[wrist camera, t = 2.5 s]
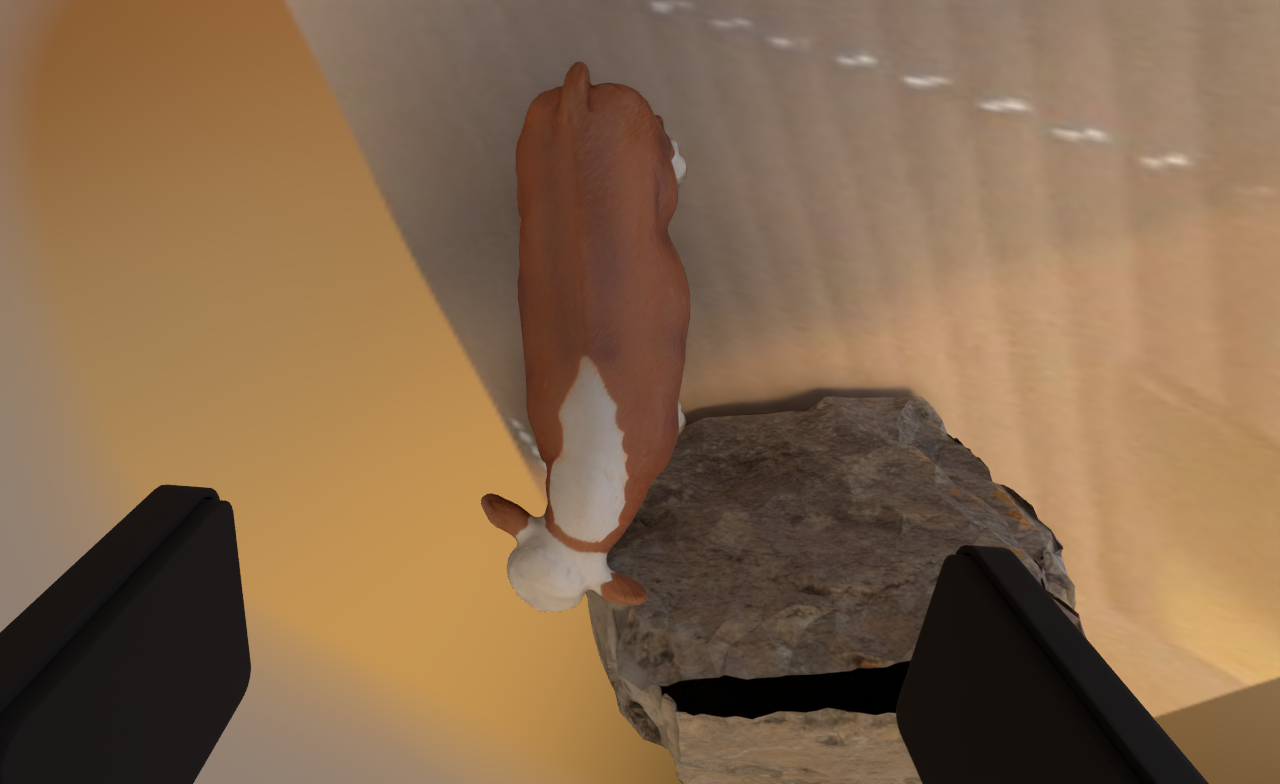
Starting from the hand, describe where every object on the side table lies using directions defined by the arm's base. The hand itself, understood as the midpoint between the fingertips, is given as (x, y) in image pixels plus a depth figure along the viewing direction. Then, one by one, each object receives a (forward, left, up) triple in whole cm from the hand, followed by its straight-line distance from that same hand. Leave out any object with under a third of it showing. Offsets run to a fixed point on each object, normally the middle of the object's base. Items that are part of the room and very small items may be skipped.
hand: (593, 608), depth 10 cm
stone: (+4, +2, -13) cm, 14 cm away
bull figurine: (+1, 0, -15) cm, 15 cm away
